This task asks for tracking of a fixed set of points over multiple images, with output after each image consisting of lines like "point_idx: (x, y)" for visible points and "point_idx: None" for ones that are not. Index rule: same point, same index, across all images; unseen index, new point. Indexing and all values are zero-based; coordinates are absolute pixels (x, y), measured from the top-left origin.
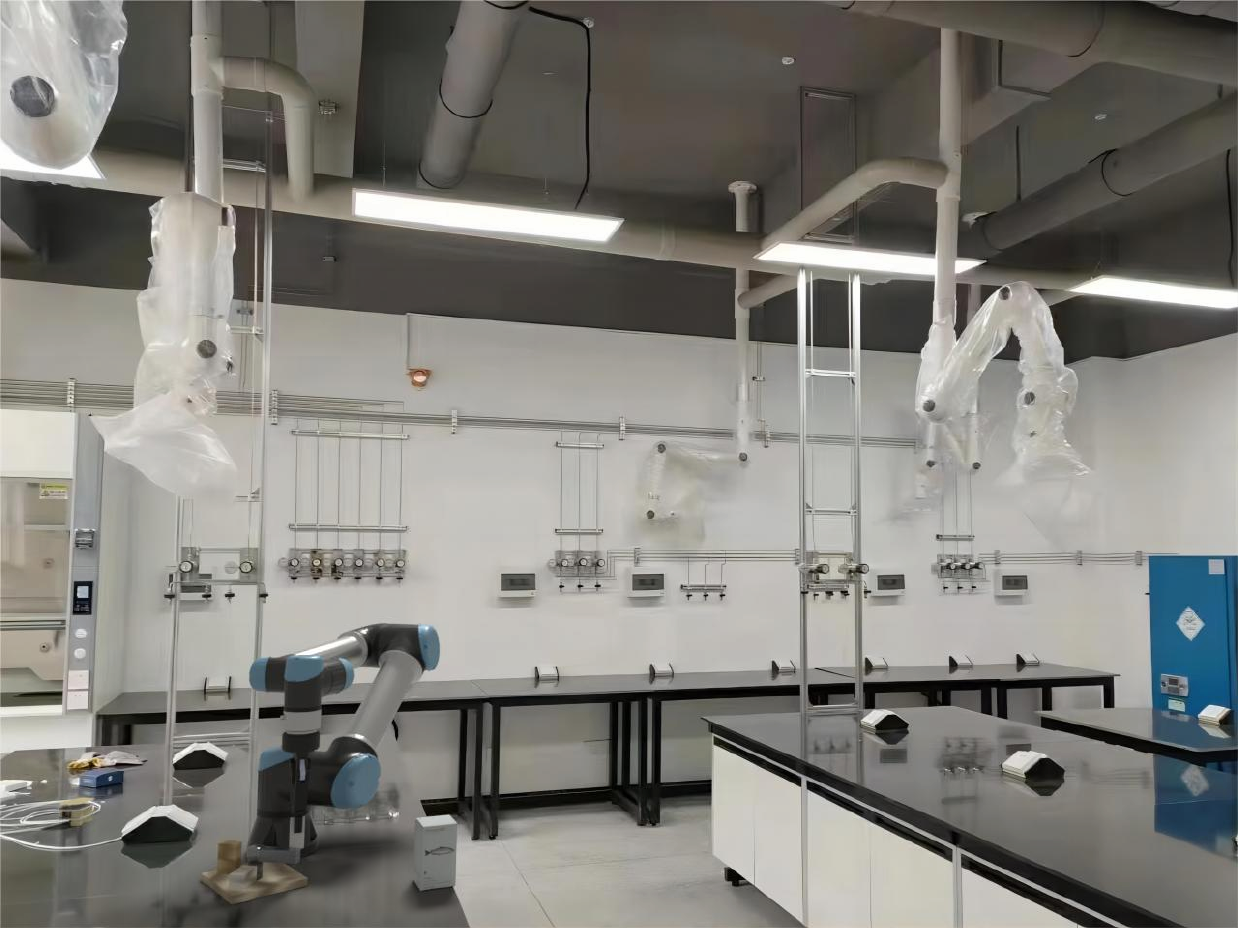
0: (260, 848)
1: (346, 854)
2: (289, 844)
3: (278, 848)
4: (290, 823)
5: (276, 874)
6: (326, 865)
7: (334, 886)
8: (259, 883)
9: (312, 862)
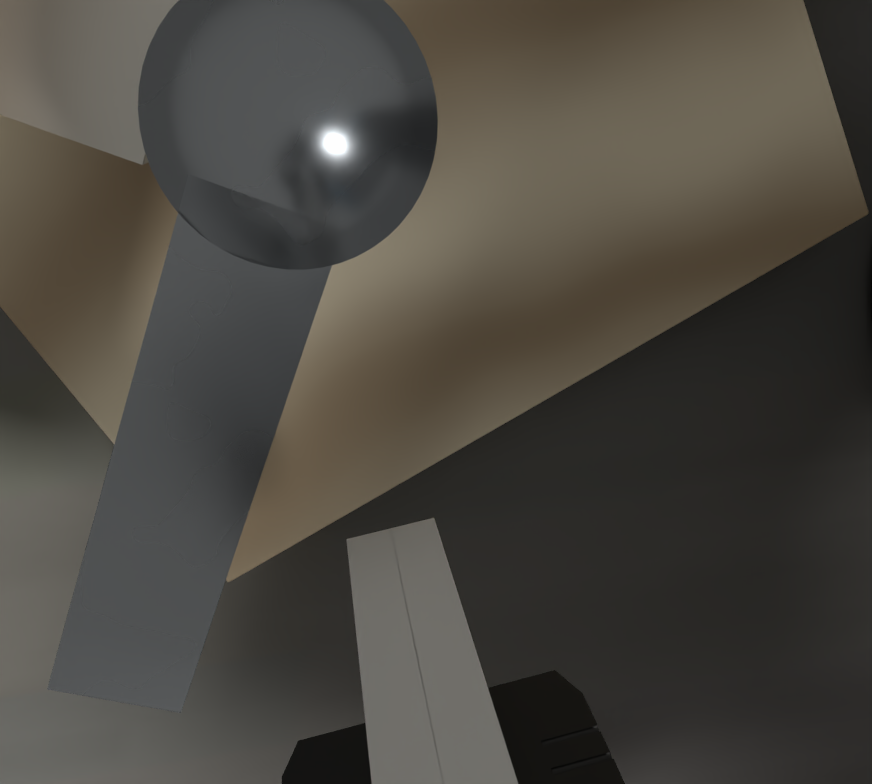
0: (219, 206)
1: (842, 681)
2: (429, 539)
3: (189, 464)
4: (476, 746)
5: (363, 313)
6: (658, 600)
7: (192, 721)
8: (119, 191)
9: (758, 497)
